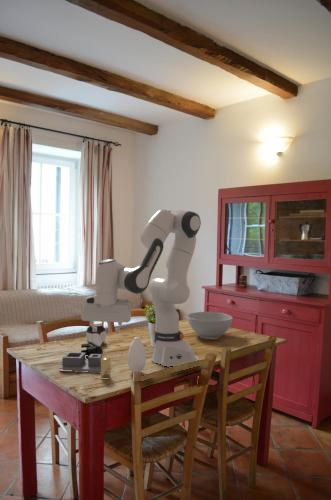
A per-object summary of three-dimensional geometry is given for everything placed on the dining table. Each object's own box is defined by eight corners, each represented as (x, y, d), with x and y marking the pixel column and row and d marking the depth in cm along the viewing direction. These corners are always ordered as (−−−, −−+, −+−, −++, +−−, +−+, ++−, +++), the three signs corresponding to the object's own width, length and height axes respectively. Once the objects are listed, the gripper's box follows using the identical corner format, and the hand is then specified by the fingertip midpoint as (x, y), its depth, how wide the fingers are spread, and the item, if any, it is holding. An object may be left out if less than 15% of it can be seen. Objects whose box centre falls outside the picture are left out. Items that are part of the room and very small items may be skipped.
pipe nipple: (111, 376, 163) (111, 357, 163) (109, 379, 159) (109, 360, 159) (101, 375, 163) (102, 357, 163) (99, 379, 159) (99, 360, 159)
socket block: (106, 363, 178) (107, 352, 178) (101, 373, 166) (101, 360, 166) (68, 362, 179) (68, 350, 179) (59, 371, 167) (59, 358, 167)
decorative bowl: (179, 333, 237) (179, 313, 236) (216, 329, 248) (216, 310, 248) (201, 344, 212) (201, 322, 212) (241, 340, 224) (242, 319, 223)
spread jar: (99, 340, 217) (99, 319, 216) (111, 344, 209) (111, 323, 208) (80, 344, 208) (81, 323, 208) (92, 349, 200) (93, 326, 200)
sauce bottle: (145, 369, 171) (146, 329, 171) (145, 376, 164) (146, 334, 163) (127, 369, 171) (128, 329, 170) (126, 376, 163) (127, 333, 163)
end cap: (102, 359, 184) (103, 345, 184) (88, 362, 180) (89, 347, 180) (94, 354, 193) (94, 340, 192) (80, 356, 189) (81, 342, 189)
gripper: (132, 298, 162) (132, 331, 163) (84, 296, 163) (83, 329, 164) (130, 301, 156) (129, 335, 157) (80, 299, 157) (79, 333, 158)
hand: (105, 332), depth 160 cm, fingers open, 8 cm apart
